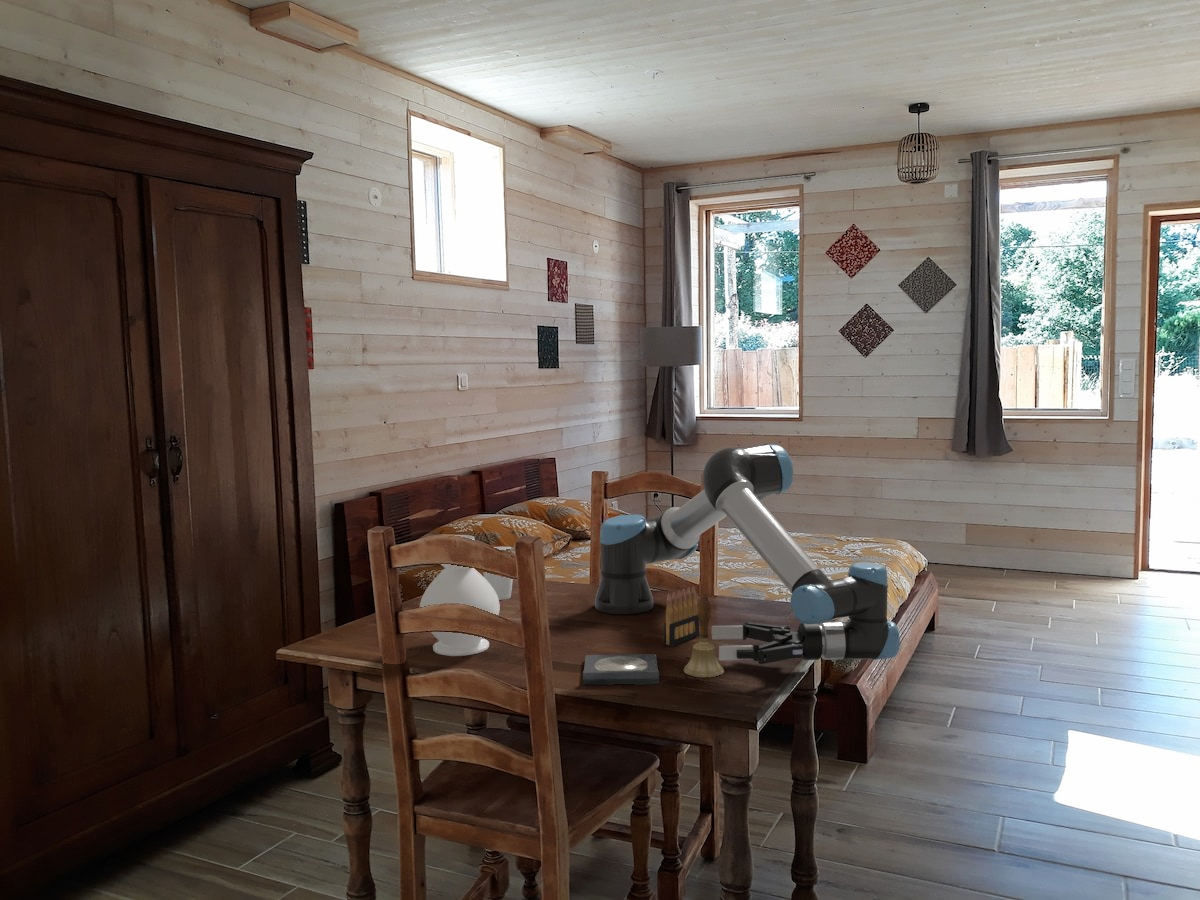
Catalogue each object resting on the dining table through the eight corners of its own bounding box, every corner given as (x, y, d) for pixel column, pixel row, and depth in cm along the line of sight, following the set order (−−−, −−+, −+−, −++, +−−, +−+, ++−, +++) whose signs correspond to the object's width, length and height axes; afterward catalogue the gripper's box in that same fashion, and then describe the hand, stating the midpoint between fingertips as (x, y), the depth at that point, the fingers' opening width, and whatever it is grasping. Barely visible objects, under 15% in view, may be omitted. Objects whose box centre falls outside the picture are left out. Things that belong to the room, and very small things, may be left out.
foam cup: (475, 597, 254) (473, 550, 252) (502, 591, 260) (501, 545, 259) (495, 603, 247) (494, 555, 245) (523, 597, 253) (522, 550, 252)
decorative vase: (433, 664, 198) (428, 549, 195) (412, 642, 214) (408, 535, 211) (511, 652, 205) (508, 540, 203) (486, 631, 221) (483, 528, 219)
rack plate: (585, 660, 199) (585, 649, 198) (655, 659, 198) (655, 648, 198) (583, 685, 184) (582, 672, 183) (659, 684, 183) (658, 671, 183)
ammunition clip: (670, 646, 207) (669, 594, 206) (663, 645, 208) (663, 592, 207) (699, 635, 215) (699, 584, 214) (693, 634, 216) (692, 583, 215)
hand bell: (726, 665, 194) (725, 590, 192) (722, 679, 186) (721, 601, 184) (686, 663, 196) (685, 589, 194) (680, 676, 187) (679, 599, 186)
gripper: (834, 680, 177) (722, 681, 177) (806, 640, 202) (709, 641, 202) (834, 641, 176) (722, 643, 176) (807, 606, 201) (708, 608, 201)
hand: (715, 642), depth 189 cm, fingers open, 13 cm apart
